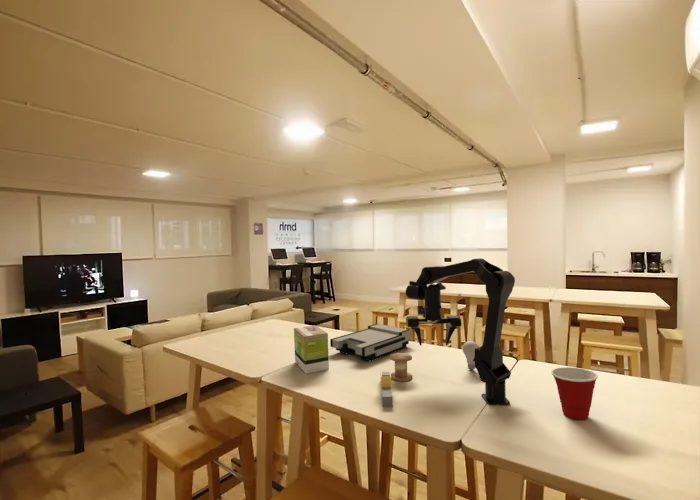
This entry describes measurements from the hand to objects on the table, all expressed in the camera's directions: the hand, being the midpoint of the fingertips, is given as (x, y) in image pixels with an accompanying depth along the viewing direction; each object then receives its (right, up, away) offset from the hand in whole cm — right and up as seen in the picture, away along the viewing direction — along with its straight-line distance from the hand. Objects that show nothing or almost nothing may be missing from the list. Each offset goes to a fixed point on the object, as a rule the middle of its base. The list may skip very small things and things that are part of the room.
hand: (433, 345), depth 122 cm
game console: (-20, -13, +34) cm, 42 cm away
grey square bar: (-18, -13, -11) cm, 24 cm away
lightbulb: (+16, -12, +7) cm, 21 cm away
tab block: (-18, -13, -11) cm, 24 cm away
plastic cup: (+32, -12, -28) cm, 44 cm away
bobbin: (-11, -12, +2) cm, 17 cm away
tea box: (-45, -13, +16) cm, 50 cm away
